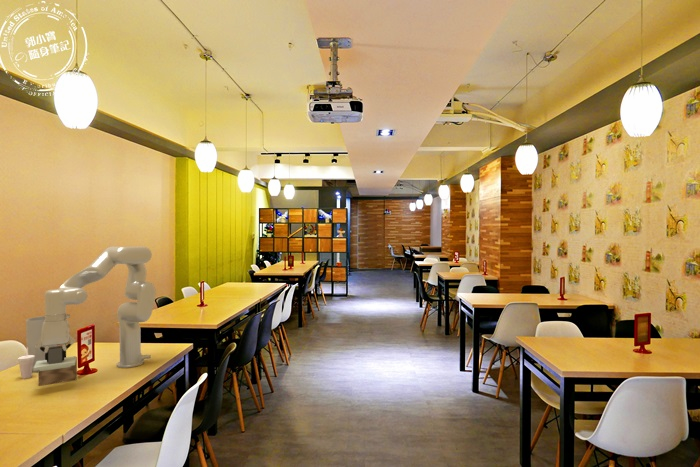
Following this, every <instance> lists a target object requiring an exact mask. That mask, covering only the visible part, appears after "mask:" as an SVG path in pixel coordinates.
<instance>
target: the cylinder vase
mask: <svg viewBox="0 0 700 467" xmlns="http://www.w3.org/2000/svg"><path fill="white" fill-rule="evenodd" d="M25 322H26V324H25V325H26V326H25V328H26V329H25V330H26V334H25V335H26V336H25V337H26V349H27V348H28V355H34V356H35V358H34V362H33V370H32V373H37V372H38V370H35V371H34V366H35V364H36V362H37V361H42V360H45V353H44V352H43V351H42V350H40V349H39V348H37V347H35V345H36V344H37V342H38V341H39V340H40V339H41V334H42V326H43V322H45V315H44V316H43V315H42V316H35V317H31V318H27V319H26V320H25ZM40 345H41V346H43V345H42V344H40ZM55 346H58V345H51V346H49V347H55ZM43 347H46V346H43ZM48 350H49V349H48Z"/></svg>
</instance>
